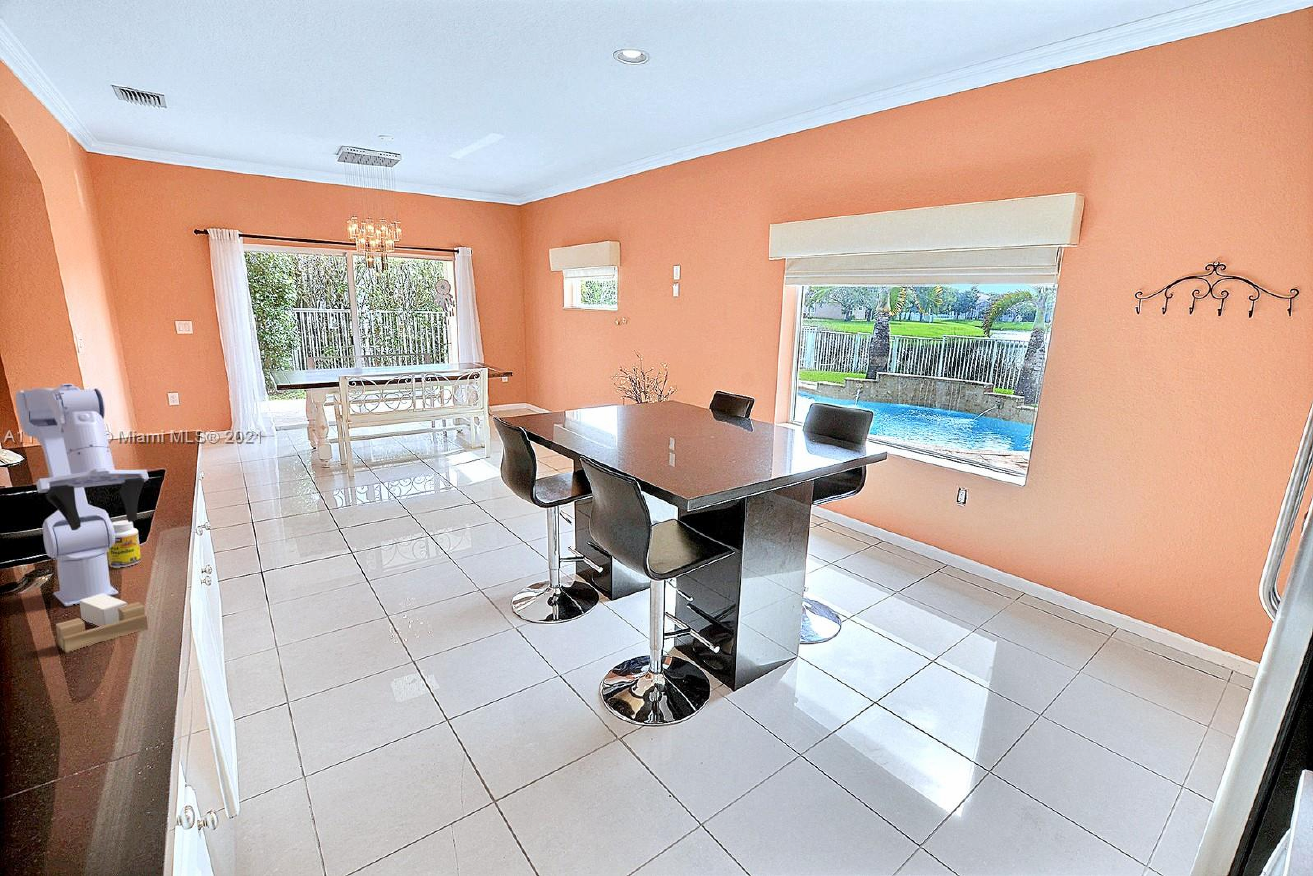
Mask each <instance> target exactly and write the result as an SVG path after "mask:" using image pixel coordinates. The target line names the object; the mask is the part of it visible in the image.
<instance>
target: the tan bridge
mask: <svg viewBox="0 0 1313 876" xmlns="http://www.w3.org/2000/svg"><path fill="white" fill-rule="evenodd" d="M118 614H119V621H118V622H115V623H111V624H108V625H104V626H101V627H97V626H96V627H94V628H91V629H87V630H86V625H85V621H83V620H82V618H81V617H78V618H74V619H70V620H67V621H61V622H59V623H55V626H56V627H55V628H56V635H57V642H58V646H59V647H60V649H61V648H62V649H61V650H62V651H63V652H65V654H69V653H71V652H70V651H72V652H75V651H78V650H81V649H80V648H82V649H84V648H83V647H85V648H87V647H86V646H88V647H91V645H92V646H94V645H93V644H95V643H98V642H101V641H105V642H108V641H110V639H112V640H115V639H117V637H118V638H120V637H119V636H122V637H124V636H128V634H129V635H132V634H135V633H138V632H141V631H145V630H149V629H148V628H149V627H148V617H147V615H146V613H145V605H143V604H142V603H140V602H133V603H129V604H127V605H126V606H122V607H118ZM134 632H135V633H134ZM131 633H132V634H131ZM114 638H115V639H114ZM107 640H108V641H107ZM98 644H99V643H98ZM95 645H96V644H95ZM77 649H78V650H77ZM74 650H75V651H74Z"/></svg>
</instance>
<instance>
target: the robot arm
mask: <svg viewBox="0 0 1313 876" xmlns="http://www.w3.org/2000/svg"><path fill="white" fill-rule="evenodd" d="M14 398H15V407H16V412H17V416H18V419H19V423H20V428H21V430H22V431H23V434H24V435H25V436H27V437H32V438H35V439H37V441H38V443H39V445H40V447H41V449H42V450H43V455H44V458H45V463H46V467H47V472H48V474H49V475H48V476H49V477H45V478H39V479H38V480H37V481H36V482H35V484H36V488H37V493H38V494H43V493H46V494H45V497H46V499H47V501H48V502H49V503H50V504H51V505H53V506H54V507H55V508H56V509H57V510H56V511H54V513H51V515H49V516H48V517H47V518H45V519H44V521H43V524H42V535H43V536H42V537H43V543H44V549H45V553H46V555H47V556H48V557H49V558H51V559H56V560H57V563H56V570H57V577H58V584H59V590H57V591H54V592H53V596H55V598H57V600H59V601H60V602H61V604H63V605H64V607H71V606H74V605H73V604H75V605H78V604H79V605H80V602H79V600H82V599H85V598H88V597H92V596H95V595H98V594H102V593H103V594H106V595H108V596H111V597H112V596H114V595H118V594H119V591H118V590H117V589H116V588H114V587H113V586H112V585H111V580H110V579H111V578H110V572H109V570H110V569H109V561H108V552H109V550H108V548H111V547H112V546H113V545H114V544H115V532H114V527H113V524H112V523H113V522H112V521H111V519H110V516H109V513H108V512H107V511H106V510H105V509H102V508H100V507H98V506H93V505H92V504H89V503H88V499H87V495H86V491H85V488H88V487H98V486H108V485H109V486H110V485H120V484H121V488H119V490H118V492H119V495H120V497H121V500H122V503H123V505H124V509H125V510H124V511H125V516H126V520H128V522H133V523H134V522H135V521H136V520H137V519H138V506H139V504H138V503H139V498H140V495H141V492H142V489H143V488H144V487H143V486H144V484H145V483H146V482H147V481H148V480H149V478H150V477H149V474H148V469H146V468H145V469H115V465H114V461H113V460H114V459H113V455H112V452H111V449H110V443H109V439H108V434H107V431H106V427H105V422H104V419H105V413H106V407H105V401H104V397H103V394H102V392H101V390H100V389H99V388H92V389H81V388H79V387H78V386H74V384H73V383H61V384H60V386H59V387H41V388H40V387H39V388H32V389H31V388H30V389H24V390H23V389H20V390H18V391H17V392H16V393H15V397H14Z"/></svg>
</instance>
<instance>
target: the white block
mask: <svg viewBox="0 0 1313 876" xmlns="http://www.w3.org/2000/svg"><path fill="white" fill-rule="evenodd" d="M79 602H80V603H79V607H80V610H79V611H80V615H81V617H80V619H81V620H82V619H83V620H85V621H86V623H88V622H89V623H88V624H90V623H93V624H95V625H97V626H99V627H101V626H104V625H108V624H111V623H115V622H118V621H119V614H118V607H122V606H126V605H128V602H126V601H124V600H121V599H119V598H116V597H113V596H112V595H111V596H108V595H106V594H103V593H102V594H98V595H95V596H92V597H88V598H85V599H82V600H79ZM83 620H82V621H83ZM85 621H84V622H85ZM93 624H92V625H93ZM95 625H94V626H95ZM97 626H96V627H97Z"/></svg>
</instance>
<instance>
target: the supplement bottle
mask: <svg viewBox="0 0 1313 876" xmlns="http://www.w3.org/2000/svg"><path fill="white" fill-rule="evenodd" d="M112 524H113V527H114V532H115V544H114V545H113V546H112V547H111V548H108V550H109V552H107V559H108V566H110V567H111V568H112V567H113V568H114V569H121V568H120V567H125V568H127V567H126V566H130V565H133V564H135V563H138V562H139V561H140V560H141V561H142V557H141V546H140V539H139V537H140V535H139V530H138V529H137V528H135V527H134V521H133V522H128V519H125V520H117V521H113V522H112ZM141 561H140V562H141ZM140 562H139V563H140ZM139 563H138V564H139ZM133 566H134V565H133ZM130 567H131V566H130Z"/></svg>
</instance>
